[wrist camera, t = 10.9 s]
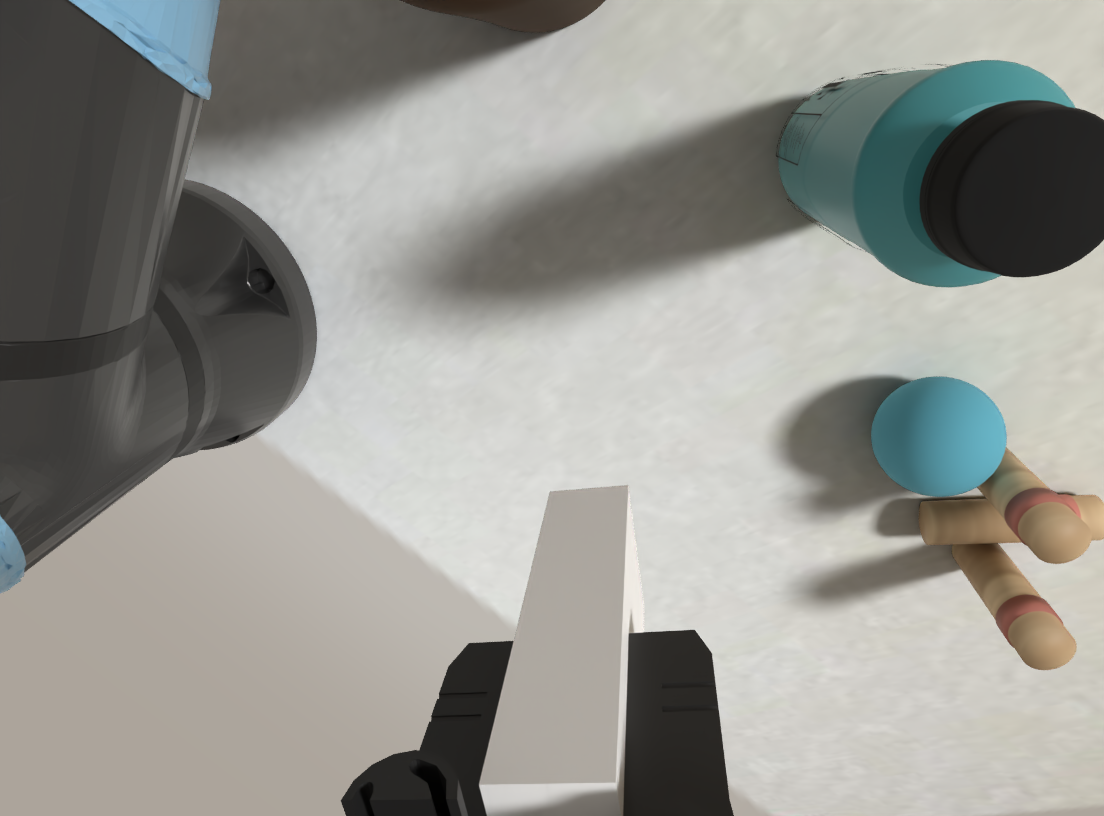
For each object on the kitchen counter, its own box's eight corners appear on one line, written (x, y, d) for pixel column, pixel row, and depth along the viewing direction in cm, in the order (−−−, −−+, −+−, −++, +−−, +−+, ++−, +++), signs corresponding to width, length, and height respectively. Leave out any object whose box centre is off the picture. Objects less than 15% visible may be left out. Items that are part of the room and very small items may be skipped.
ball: (904, 482, 41) (884, 525, 37) (866, 382, 41) (842, 413, 36) (1026, 458, 38) (1022, 502, 33) (986, 349, 37) (976, 378, 33)
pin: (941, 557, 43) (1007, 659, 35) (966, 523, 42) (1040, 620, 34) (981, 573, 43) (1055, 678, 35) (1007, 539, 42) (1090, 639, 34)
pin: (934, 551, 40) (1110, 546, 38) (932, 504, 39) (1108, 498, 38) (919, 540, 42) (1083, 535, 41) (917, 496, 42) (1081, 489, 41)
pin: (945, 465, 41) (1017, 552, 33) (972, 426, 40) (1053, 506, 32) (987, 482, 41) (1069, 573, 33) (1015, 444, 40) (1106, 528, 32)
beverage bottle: (811, 246, 37) (975, 389, 19) (740, 132, 35) (844, 167, 17) (935, 165, 35) (1257, 237, 17) (867, 41, 33) (1139, -32, 15)
